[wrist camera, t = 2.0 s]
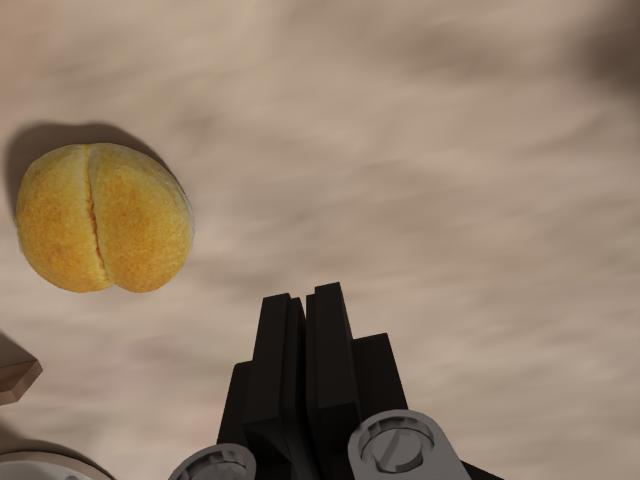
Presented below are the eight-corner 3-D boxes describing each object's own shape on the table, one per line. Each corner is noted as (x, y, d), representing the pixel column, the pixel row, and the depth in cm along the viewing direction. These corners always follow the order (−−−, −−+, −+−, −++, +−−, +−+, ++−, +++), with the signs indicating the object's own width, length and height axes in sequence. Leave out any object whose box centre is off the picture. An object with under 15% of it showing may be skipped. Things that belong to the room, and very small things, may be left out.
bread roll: (201, 282, 30) (186, 315, 26) (46, 279, 30) (9, 312, 26) (193, 141, 27) (176, 155, 24) (22, 136, 27) (-24, 150, 23)
